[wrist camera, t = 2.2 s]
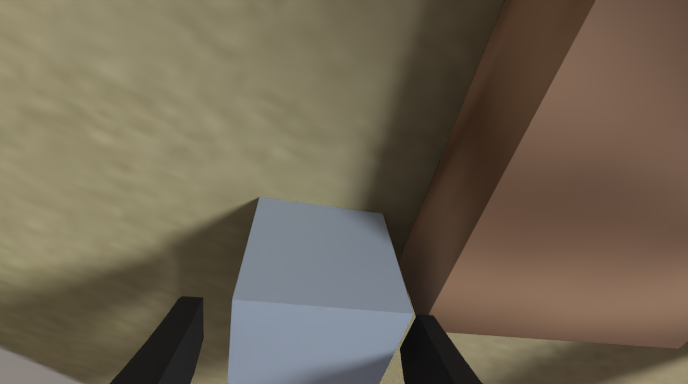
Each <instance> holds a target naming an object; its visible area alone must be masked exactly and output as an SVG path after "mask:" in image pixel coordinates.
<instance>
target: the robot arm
mask: <svg viewBox="0 0 688 384" xmlns="http://www.w3.org/2000/svg"><path fill="white" fill-rule="evenodd" d="M203 338H204V335H203V298H199V297H186V296H182V297H180V298H179V299H178V300H177V302H176V303H175V305H174V306H173V307H172V309H171V310H170V312H169V313H168V314H167V316H166V317H165V318H164V320H163V321H162V322H161V324H160V325H159V326H158V327H157V329H156V330H155V331H154V332H153V334H152V335H151V336H150V338H149V339H148V340H147V341H146V342H145V344H144V345H143V346H142V347H141V348H140V350H139V351H138V352H137V353H136V354H135V355H134V357H133V358H132V359H131V360H130V361H129V363H128V364H127V365H126V366H125V367H124V368H123V369H122V371H121V372H120V373H119V374H118V375H117V376H116V377H115V378H114V379H113V380H112V382H111V383H110V384H190V383H191V380H192V377H193V375H194V372H195V368H196V364H197V361H198V357H199V353H200V349H201V345H202V342H203ZM400 353H401V362H402V369H403V376H404V382H405V384H482V383H481V381H480V380H479V379H478V377H477V376H476V374H475V373H474V372H473V370H472V369H471V368H470V366H469V365H468V364H467V362H466V361H465V360H464V358H463V357H462V355H461V354H460V353H459V351H458V350H457V348H456V347H455V345H454V344H453V343H452V341H451V340H450V338H449V337H448V335H447V334H446V333H445V331H444V330H443V328H442V327H441V325H440V324H439V323H438V321H437V320H436V318H435V317H434V316H433V315H422V314H417V316H416V318H415V320H414V322H413V324H412V326H411V328H410V330H409V332H408V334H407V336H406V338H405V339H404V341H403V343H402V345H401V347H400Z"/></svg>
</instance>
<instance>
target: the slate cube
mask: <svg viewBox="0 0 688 384" xmlns="http://www.w3.org/2000/svg"><path fill="white" fill-rule="evenodd" d="M412 316H413V310H412V307H411V304H410V301H409V297H408V294H407V291H406V288H405V285H404V281H403V278H402V275H401V272H400V268H399V265H398V262H397V259H396V255H395V252H394V249H393V246H392V242H391V239H390V236H389V233H388V229H387V226H386V223H385V220H384V216H383V214H382V213H375V212H367V211H360V210H352V209H345V208H338V207H330V206H323V205H315V204H308V203H301V202H293V201H286V200H278V199H271V198H264V197H259V201H258V205H257V209H256V212H255V216H254V220H253V224H252V227H251V231H250V235H249V239H248V242H247V246H246V250H245V254H244V257H243V261H242V265H241V269H240V272H239V276H238V280H237V284H236V287H235V291H234V295H233V299H232V313H231V330H230V348H229V365H228V383H227V384H379V383H380V381H381V379H382V377H383V375H384V373H385V371H386V369H387V367H388V365H389V363H390V361H391V359H392V357H393V355H394V353H395V351H396V348H397V346H398V344H399V342H400V340H401V338H402V336H403V334H404V332H405V330H406V328H407V326H408V324H409V322H410V320H411V318H412Z"/></svg>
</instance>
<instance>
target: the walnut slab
mask: <svg viewBox="0 0 688 384" xmlns="http://www.w3.org/2000/svg"><path fill="white" fill-rule="evenodd" d="M399 264H400V267H401V270H402V273H403V277H404V280H405V283H406V286H407V290H408V293H409V296H410V299H411V303H412V306H413V309H414V312H415V315H416V316H417V314H422V315H433V316H434V317H435V318H436V320H437V321H438V323H439V324H440V325H441V327H442V328H443V330H444V331H445V332H449V333H464V334H478V335H492V336H506V337H520V338H534V339H548V340H562V341H576V342H590V343H604V344H618V345H632V346H646V347H660V348H674V349H679V348H680V347H681V346H683V345H684V344H685V343H686V342H688V0H505V2H504V4H503V7H502V9H501V11H500V14H499V16H498V19H497V21H496V24H495V26H494V29H493V31H492V34H491V36H490V38H489V41H488V43H487V46H486V48H485V51H484V53H483V56H482V58H481V61H480V63H479V66H478V68H477V70H476V73H475V75H474V78H473V80H472V83H471V85H470V88H469V90H468V93H467V95H466V97H465V100H464V102H463V105H462V107H461V110H460V112H459V115H458V117H457V120H456V122H455V124H454V127H453V129H452V132H451V134H450V137H449V139H448V142H447V144H446V147H445V149H444V151H443V154H442V156H441V159H440V161H439V164H438V166H437V169H436V171H435V174H434V176H433V178H432V181H431V183H430V186H429V188H428V191H427V193H426V196H425V198H424V201H423V203H422V206H421V208H420V210H419V213H418V215H417V218H416V220H415V223H414V225H413V228H412V230H411V233H410V235H409V237H408V240H407V242H406V245H405V247H404V250H403V252H402V255H401V257H400V260H399Z"/></svg>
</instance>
